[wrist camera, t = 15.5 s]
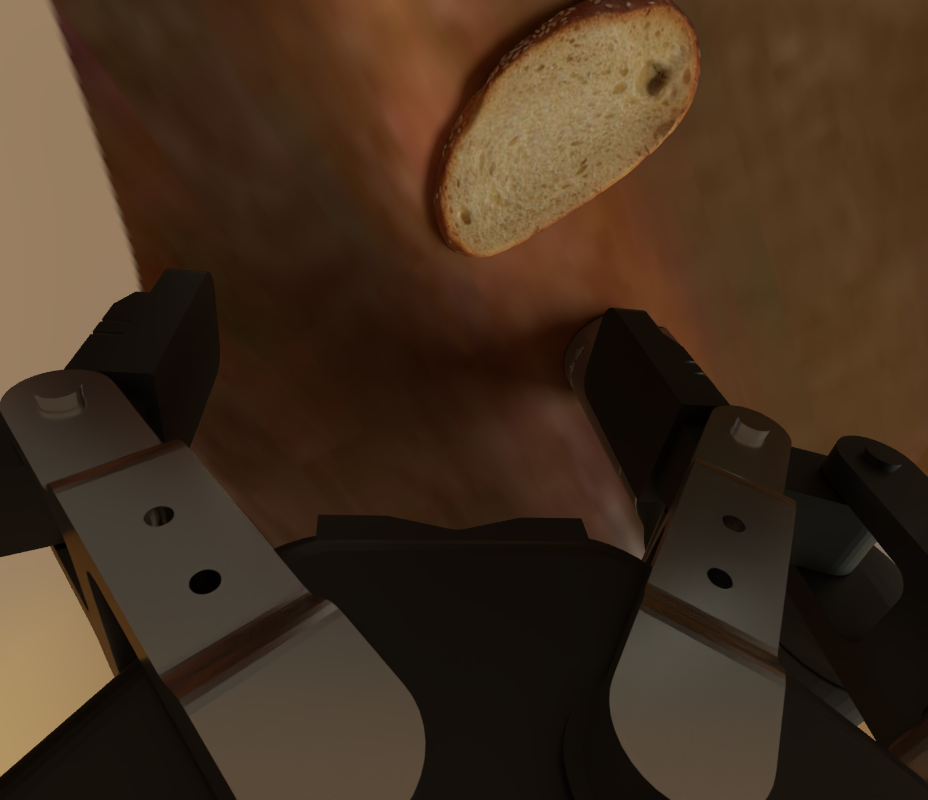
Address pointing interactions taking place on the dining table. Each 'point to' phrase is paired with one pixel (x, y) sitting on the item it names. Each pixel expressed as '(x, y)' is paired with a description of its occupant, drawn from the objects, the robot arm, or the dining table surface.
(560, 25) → the bread slice
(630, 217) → the dining table surface
